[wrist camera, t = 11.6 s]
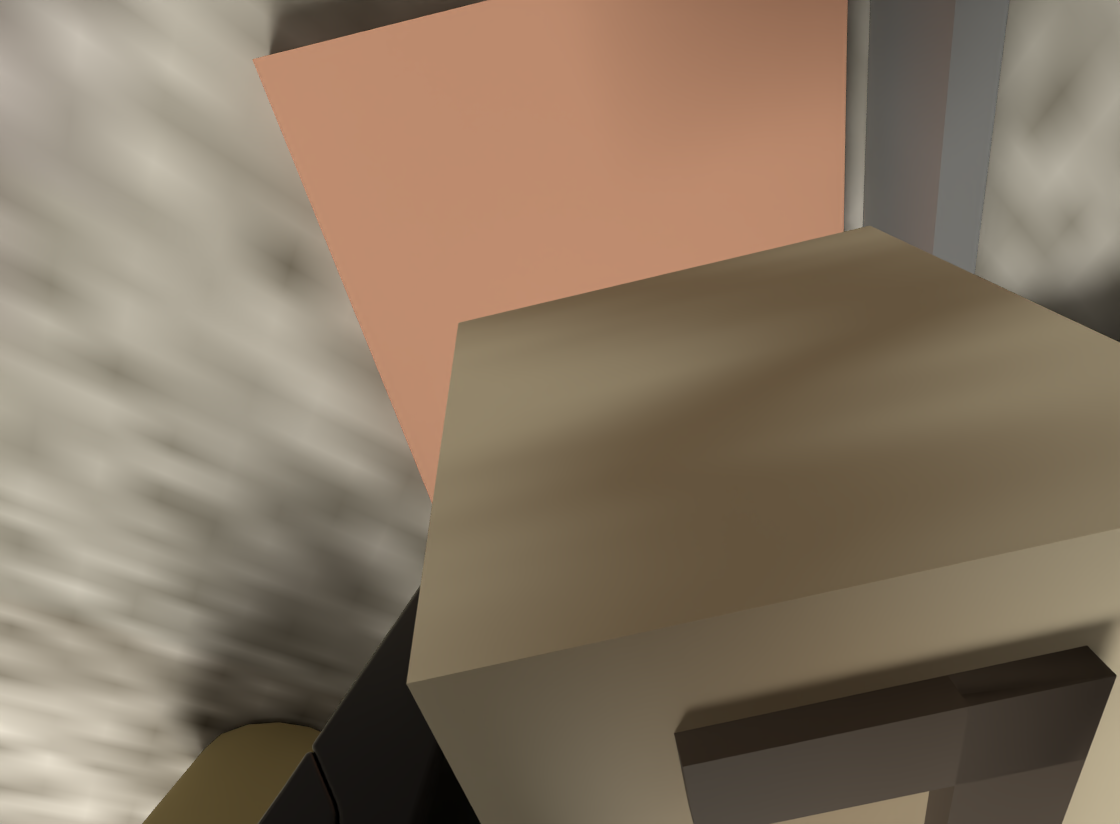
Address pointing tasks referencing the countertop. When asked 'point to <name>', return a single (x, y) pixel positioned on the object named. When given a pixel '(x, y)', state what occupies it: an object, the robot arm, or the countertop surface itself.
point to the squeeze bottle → (236, 776)
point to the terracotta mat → (555, 159)
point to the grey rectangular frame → (932, 121)
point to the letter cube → (779, 551)
